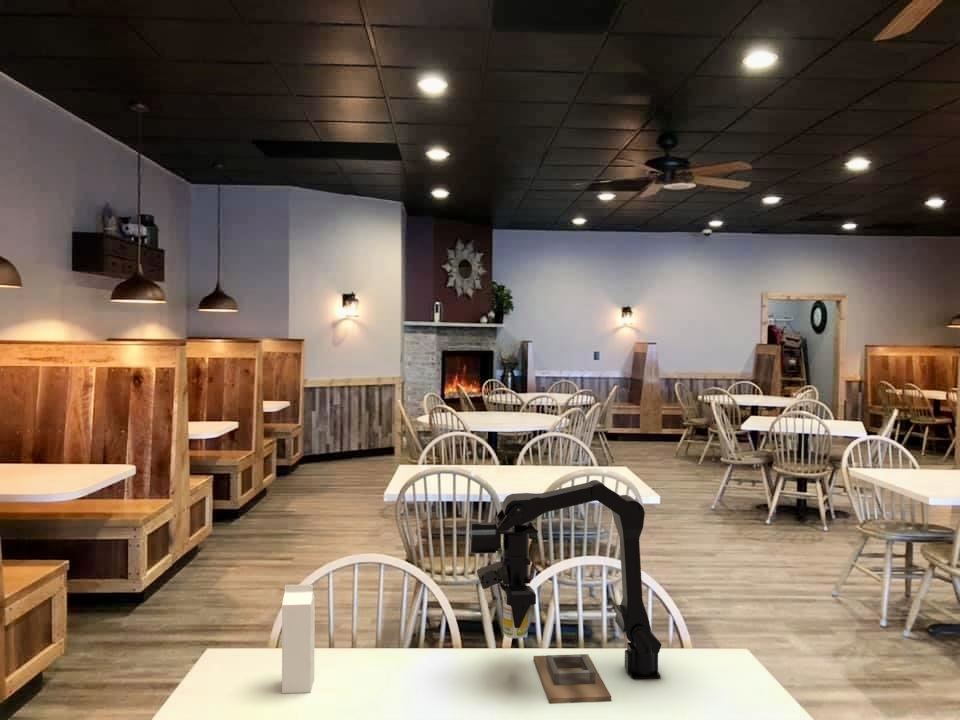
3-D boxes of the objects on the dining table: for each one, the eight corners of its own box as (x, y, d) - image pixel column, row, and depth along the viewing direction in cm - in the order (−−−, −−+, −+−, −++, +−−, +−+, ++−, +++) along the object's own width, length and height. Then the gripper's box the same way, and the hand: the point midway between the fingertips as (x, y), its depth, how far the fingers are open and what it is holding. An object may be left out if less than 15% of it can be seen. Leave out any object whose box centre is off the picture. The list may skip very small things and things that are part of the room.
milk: (286, 680, 155) (286, 580, 155) (314, 679, 156) (314, 579, 155) (281, 694, 149) (281, 589, 149) (311, 693, 150) (311, 588, 149)
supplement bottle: (527, 629, 160) (528, 586, 160) (526, 639, 154) (527, 595, 154) (503, 628, 160) (504, 585, 160) (502, 638, 155) (502, 594, 155)
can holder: (588, 658, 167) (588, 643, 167) (611, 700, 147) (611, 684, 147) (533, 660, 166) (533, 645, 166) (549, 703, 146) (549, 686, 146)
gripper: (476, 541, 166) (475, 607, 166) (483, 566, 147) (483, 641, 147) (523, 540, 167) (522, 606, 167) (536, 565, 148) (536, 639, 148)
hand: (515, 622), depth 157 cm, fingers closed on supplement bottle, 5 cm apart
